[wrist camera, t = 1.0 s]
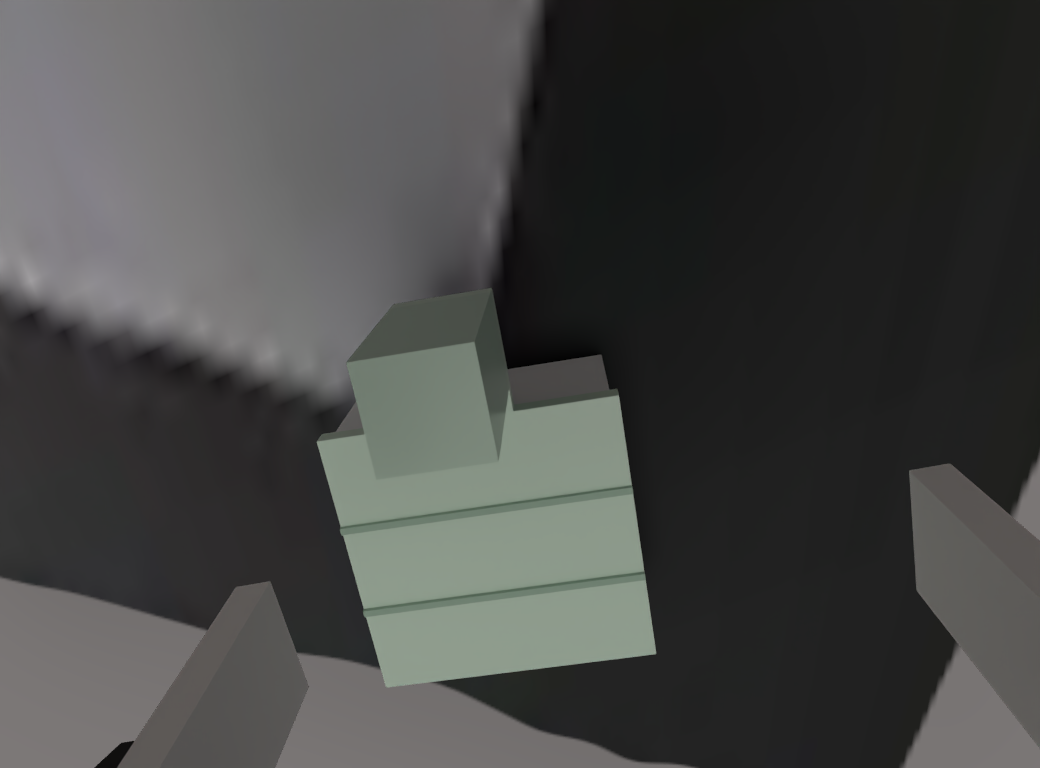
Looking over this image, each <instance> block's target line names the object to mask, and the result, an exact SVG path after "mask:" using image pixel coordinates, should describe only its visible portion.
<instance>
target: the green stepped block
mask: <svg viewBox="0 0 1040 768" xmlns="http://www.w3.org/2000/svg"><path fill="white" fill-rule="evenodd" d="M346 364H347V368H348V372H349V376H350V379H351V383H352V387H353V391H354V395H355V399H356V403H357V406H358V410H359V414H360V418H361V422H362V426H363V428H359V429H353V430H346V431H340V432H333V433H327V434H322V435H321V436H320V438H319V439H318V441H317V444H318V448H319V451H320V455H321V458H322V462H323V465H324V469H325V473H326V476H327V480H328V483H329V487H330V490H331V494H332V497H333V501H334V504H335V508H336V512H337V515H338V519H339V522H340V526H341V528H340V532H341V535H343V536H344V540H345V543H346V547H347V551H348V554H349V558H350V561H351V565H352V568H353V572H354V575H355V579H356V582H357V586H358V590H359V593H360V597H361V600H362V604H363V607H364V610H363V614H364V617H366V618H367V622H368V625H369V629H370V632H371V636H372V639H373V643H374V646H375V650H376V653H377V657H378V661H379V664H380V668H381V671H382V674H383V678H384V682H385V685H386V687H394V686H402V685H410V684H418V683H426V682H435V681H443V680H451V679H459V678H467V677H475V676H483V675H491V674H499V673H507V672H515V671H523V670H531V669H539V668H547V667H556V666H564V665H572V664H580V663H588V662H596V661H604V660H612V659H620V658H628V657H636V656H644V655H652V654H656V649H655V642H654V635H653V628H652V621H651V614H650V607H649V601H648V594H647V587H646V579H645V572H644V566H643V559H642V552H641V545H640V538H639V531H638V524H637V517H636V511H635V504H634V497H633V489H632V483H631V476H630V469H629V462H628V455H627V448H626V441H625V434H624V428H623V421H622V414H621V407H620V400H619V394H618V390H617V389H612V390H605V391H599V392H592V393H586V394H579V395H573V396H567V397H560V398H554V399H547V400H541V401H534V402H528V403H521V404H515V405H514V401H513V396H512V391H511V385H510V380H509V375H508V370H507V364H506V359H505V354H504V349H503V343H502V338H501V333H500V328H499V322H498V317H497V312H496V307H495V302H494V296H493V291H492V288H487V289H481V290H475V291H469V292H463V293H457V294H451V295H445V296H439V297H433V298H427V299H421V300H415V301H410V302H404V303H398V304H393V306H392V307H391V308H390V309H389V311H388V312H387V313H386V314H385V315H384V317H383V318H382V319H381V320H380V322H379V323H378V324H377V325H376V327H375V328H374V329H373V330H372V331H371V333H370V334H369V335H368V336H367V338H366V339H365V340H364V341H363V343H362V344H361V345H360V346H359V347H358V349H357V350H356V351H355V352H354V354H353V355H352V356H351V357H350V358H349V360H348V361H347V362H346Z"/></svg>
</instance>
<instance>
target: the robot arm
mask: <svg viewBox="0 0 1040 768" xmlns="http://www.w3.org/2000/svg"><path fill="white" fill-rule="evenodd" d="M909 474H910V490H911V506H912V523H913V539H914V555H915V572H916V588H917V591H918V593H919V594H920V595H921V597H922V598H923V599H924V600H925V602H926V603H927V604H928V606H929V607H930V608H931V609H932V611H933V612H934V613H935V615H936V616H937V617H938V618H939V620H940V621H941V622H942V624H943V625H944V626H945V627H946V629H947V630H948V631H949V633H950V634H951V635H952V636H953V638H954V639H955V640H956V642H957V643H958V644H959V645H960V647H961V648H962V649H963V651H964V652H965V653H966V654H967V656H968V657H969V658H970V660H971V661H972V662H973V663H974V665H975V666H976V667H977V669H978V670H979V671H980V672H981V674H982V675H983V676H984V678H985V679H986V680H987V681H988V682H989V684H990V685H991V686H992V688H993V689H994V690H995V691H996V693H997V694H998V695H999V697H1000V698H1001V699H1002V701H1003V702H1004V703H1005V704H1006V706H1007V707H1008V708H1009V710H1010V711H1011V712H1012V713H1013V715H1014V716H1015V717H1016V719H1017V720H1018V721H1019V722H1020V724H1021V725H1022V726H1023V728H1024V729H1025V730H1026V731H1027V732H1028V734H1029V735H1030V737H1031V738H1032V739H1033V740H1034V742H1035V743H1036V744H1037V745H1038V747H1039V748H1040V541H1039V540H1038V539H1037V538H1036V537H1035V536H1033V535H1032V534H1031V533H1030V532H1029V531H1028V530H1026V529H1025V528H1024V527H1023V526H1022V525H1021V524H1019V523H1018V522H1017V521H1016V520H1015V519H1014V518H1013V517H1011V516H1010V515H1009V514H1008V513H1007V512H1006V511H1004V510H1003V509H1002V508H1001V507H1000V506H999V505H997V504H996V503H995V502H994V501H993V500H992V499H991V498H989V497H988V496H987V495H986V494H985V493H984V492H982V491H981V490H980V489H979V488H978V487H977V486H975V485H974V484H973V483H972V482H971V481H970V480H969V479H967V478H966V477H965V476H964V475H963V474H962V473H960V472H959V471H958V470H957V469H956V468H955V467H953V466H952V465H951V464H944V465H939V466H933V467H927V468H921V469H916V470H910V471H909ZM308 687H309V686H308V683H307V680H306V678H305V675H304V672H303V670H302V667H301V664H300V661H299V659H298V656H297V653H296V650H295V648H294V645H293V642H292V639H291V637H290V634H289V631H288V628H287V626H286V623H285V620H284V618H283V615H282V612H281V609H280V607H279V604H278V601H277V598H276V596H275V593H274V590H273V588H272V585H271V582H270V581H269V582H263V583H258V584H252V585H246V586H240V587H236V588H235V590H234V591H233V593H232V594H231V596H230V597H229V599H228V600H227V602H226V603H225V605H224V606H223V608H222V609H221V611H220V612H219V614H218V615H217V617H216V618H215V620H214V621H213V623H212V624H211V626H210V628H209V629H208V631H207V632H206V634H205V635H204V637H203V638H202V640H201V641H200V643H199V644H198V646H197V647H196V649H195V650H194V652H193V653H192V655H191V657H190V658H189V659H188V661H187V662H186V664H185V666H184V667H183V668H182V670H181V672H180V673H179V675H178V676H177V678H176V679H175V681H174V682H173V684H172V685H171V687H170V688H169V690H168V691H167V693H166V694H165V696H164V697H163V699H162V700H161V702H160V703H159V705H158V706H157V708H156V709H155V711H154V712H153V714H152V715H151V717H150V719H149V720H148V722H147V723H146V725H145V726H144V728H143V729H142V731H141V732H140V734H139V735H138V737H137V738H136V740H135V741H131V742H124V743H121V744H120V745H118V747H116V748H115V749H114V750H113V751H112V752H111V753H110V754H109V755H108V756H107V757H105V758H104V759H103V760H102V761H101V762H100V763H99V764H98V765H97V766H96V767H95V768H275V767H276V764H277V762H278V759H279V757H280V754H281V752H282V750H283V747H284V745H285V743H286V740H287V738H288V735H289V733H290V730H291V728H292V726H293V723H294V721H295V719H296V716H297V714H298V711H299V709H300V707H301V704H302V702H303V699H304V697H305V694H306V692H307V690H308Z"/></svg>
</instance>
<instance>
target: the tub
mask: <svg viewBox="0 0 1040 768" xmlns="http://www.w3.org/2000/svg"><path fill="white" fill-rule="evenodd" d="M507 370H508V375H509V380H510V385H511V391H512V396H513V401H514V405H515V404H521V403H528V402H534V401H541V400H547V399H554V398H560V397H567V396H573V395H579V394H586V393H592V392H599V391H605V390H609V386H608V382H607V377H606V373H605V368H604V364H603V360H602V355H594V356H588V357H582V358H576V359H569V360H563V361H557V362H550V363H544V364H538V365H531V366H525V367H519V368H512V369H507ZM359 428H363V426H362V422H361V418H360V414H359V410H358V406H357V403H356V402H355V404H354V405H353V407H352V408H351V410H350V411H349V413H348V414H347V416H346V417H345V419H344V420H343V422H342V423H341V425H340V426H339V428H338V429H337V431H336V432H340V431H346V430H353V429H359Z"/></svg>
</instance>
